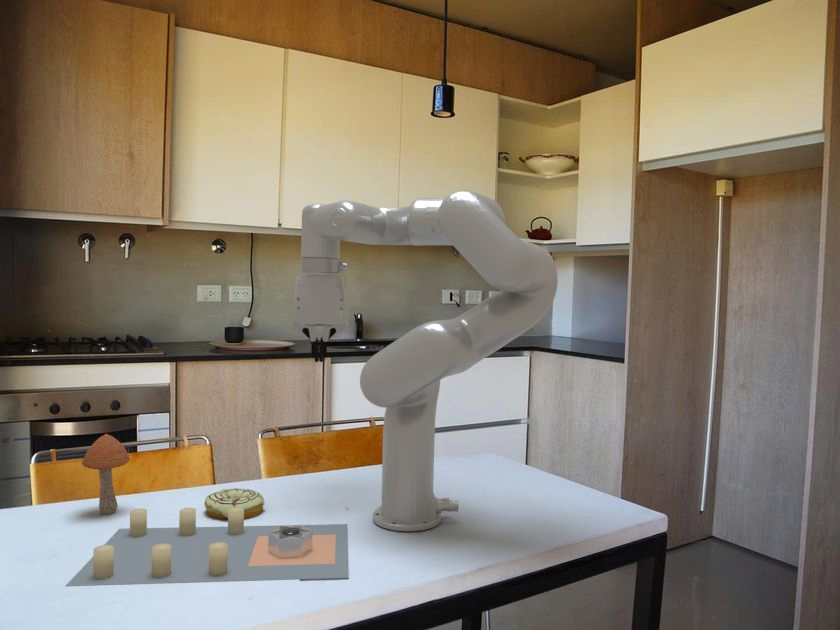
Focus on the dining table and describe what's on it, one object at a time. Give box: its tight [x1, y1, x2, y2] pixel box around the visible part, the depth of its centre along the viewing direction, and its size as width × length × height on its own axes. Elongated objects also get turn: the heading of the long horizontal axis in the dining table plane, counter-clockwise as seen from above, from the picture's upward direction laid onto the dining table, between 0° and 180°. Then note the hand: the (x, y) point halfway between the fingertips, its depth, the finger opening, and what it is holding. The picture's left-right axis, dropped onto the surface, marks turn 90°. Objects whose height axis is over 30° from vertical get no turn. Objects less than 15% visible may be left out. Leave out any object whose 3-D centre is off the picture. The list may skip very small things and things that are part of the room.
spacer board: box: [65, 507, 349, 587], centre depth 102 cm, size 39×22×4 cm, turn 97°
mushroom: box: [81, 433, 131, 516], centre depth 118 cm, size 8×8×15 cm
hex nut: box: [268, 524, 313, 559], centre depth 103 cm, size 7×6×3 cm
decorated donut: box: [203, 487, 266, 520], centre depth 121 cm, size 10×11×4 cm
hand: (318, 361), depth 127 cm, fingers closed
